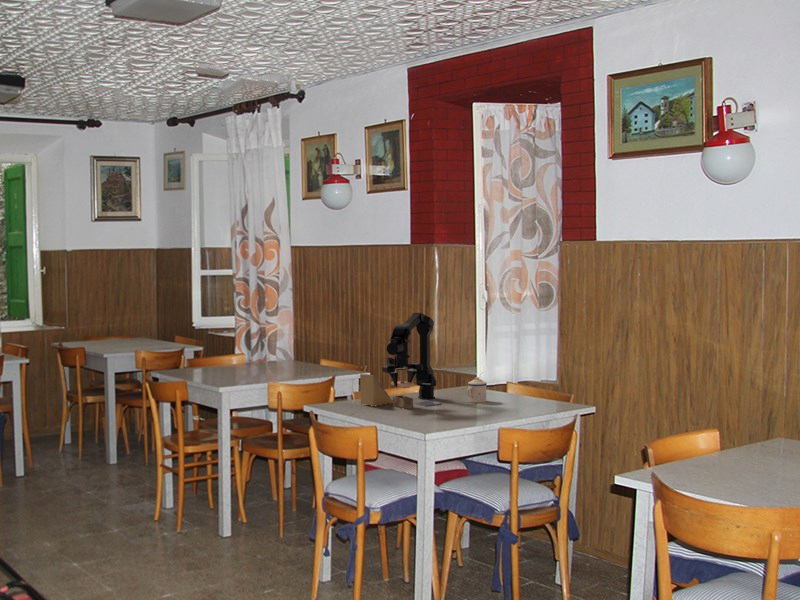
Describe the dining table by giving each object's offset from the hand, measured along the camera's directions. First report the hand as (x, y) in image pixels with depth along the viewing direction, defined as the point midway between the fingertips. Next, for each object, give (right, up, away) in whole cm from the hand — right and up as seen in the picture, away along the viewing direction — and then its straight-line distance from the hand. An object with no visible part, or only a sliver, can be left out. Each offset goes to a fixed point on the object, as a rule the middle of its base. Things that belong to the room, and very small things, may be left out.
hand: (402, 386), depth 423 cm
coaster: (+12, -9, +7) cm, 17 cm away
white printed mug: (+35, -9, +12) cm, 38 cm away
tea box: (0, -10, +1) cm, 10 cm away
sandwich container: (-12, -10, +11) cm, 19 cm away
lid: (0, 0, 0) cm, 0 cm away
